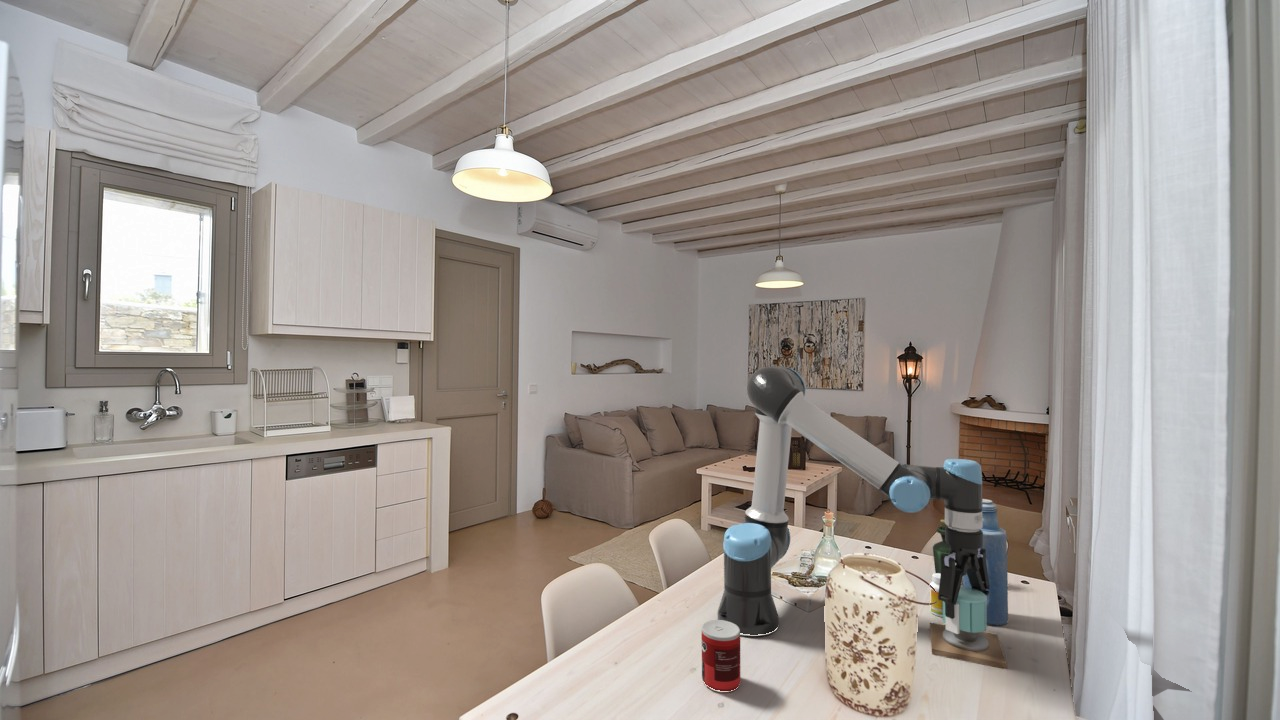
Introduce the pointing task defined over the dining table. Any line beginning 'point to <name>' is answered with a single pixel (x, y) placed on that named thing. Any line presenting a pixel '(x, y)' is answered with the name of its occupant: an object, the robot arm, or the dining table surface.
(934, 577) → the supplement bottle
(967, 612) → the cap
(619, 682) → the dining table surface
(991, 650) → the stud post
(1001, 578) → the bottle
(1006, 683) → the dining table surface
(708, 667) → the canned food
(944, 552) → the potion bottle
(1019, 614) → the dining table surface
